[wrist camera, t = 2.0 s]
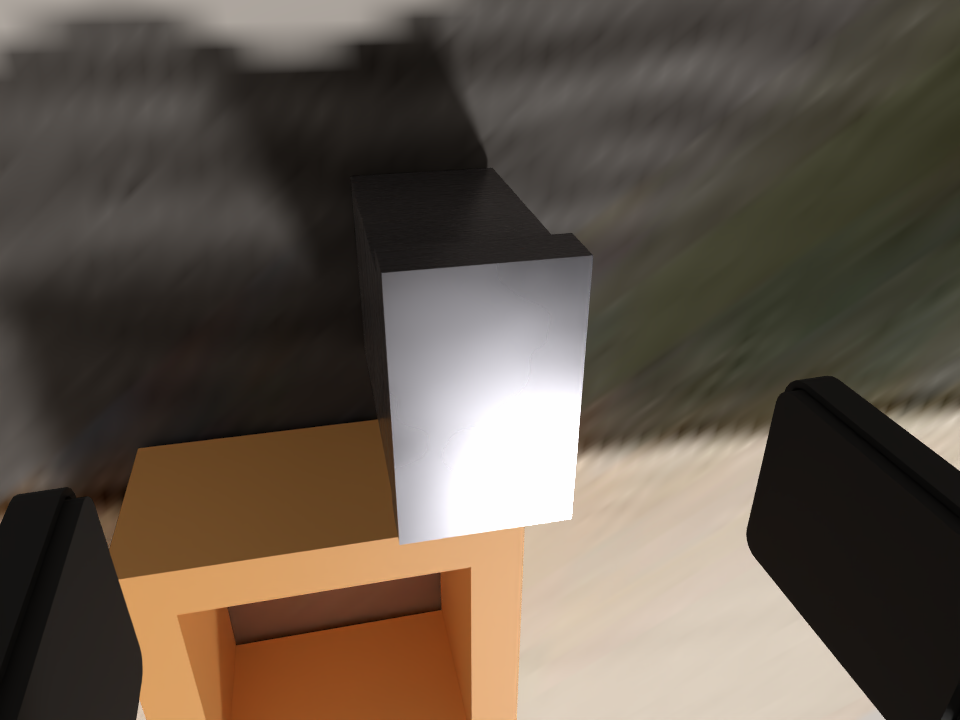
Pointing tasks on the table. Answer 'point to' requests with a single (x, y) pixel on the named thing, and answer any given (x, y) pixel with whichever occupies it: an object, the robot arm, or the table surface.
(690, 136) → the table surface
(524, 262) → the grey rectangular block
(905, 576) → the robot arm
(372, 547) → the orange handled frame
